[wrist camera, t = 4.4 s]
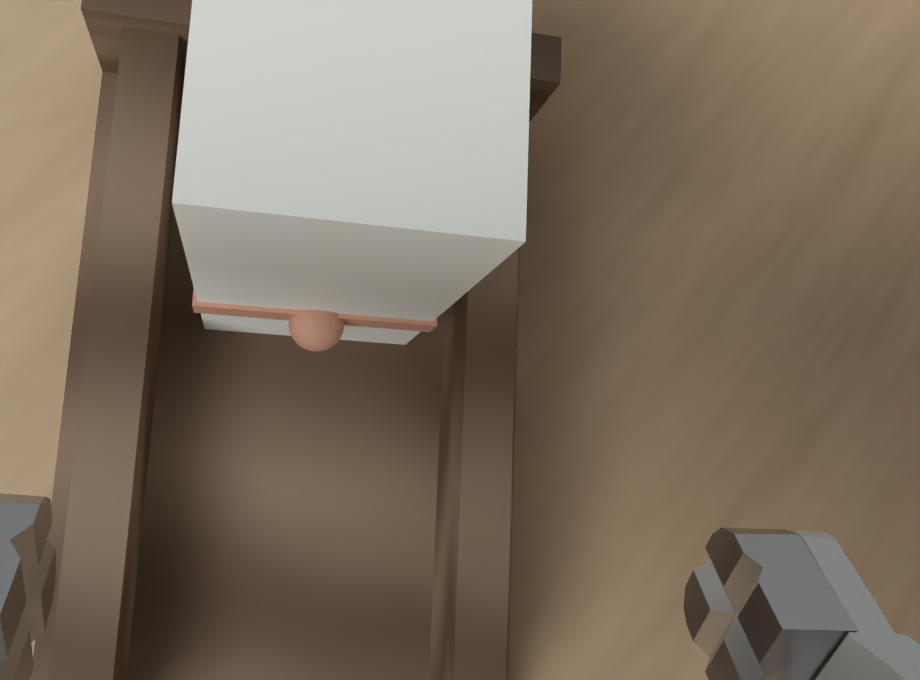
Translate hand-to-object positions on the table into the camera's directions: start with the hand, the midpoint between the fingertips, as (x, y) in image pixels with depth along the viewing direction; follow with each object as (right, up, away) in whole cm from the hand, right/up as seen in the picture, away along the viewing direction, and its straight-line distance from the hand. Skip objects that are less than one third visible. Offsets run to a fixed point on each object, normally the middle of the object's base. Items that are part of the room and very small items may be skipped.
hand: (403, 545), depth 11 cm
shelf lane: (-3, +1, +12) cm, 13 cm away
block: (-3, +5, +12) cm, 13 cm away
